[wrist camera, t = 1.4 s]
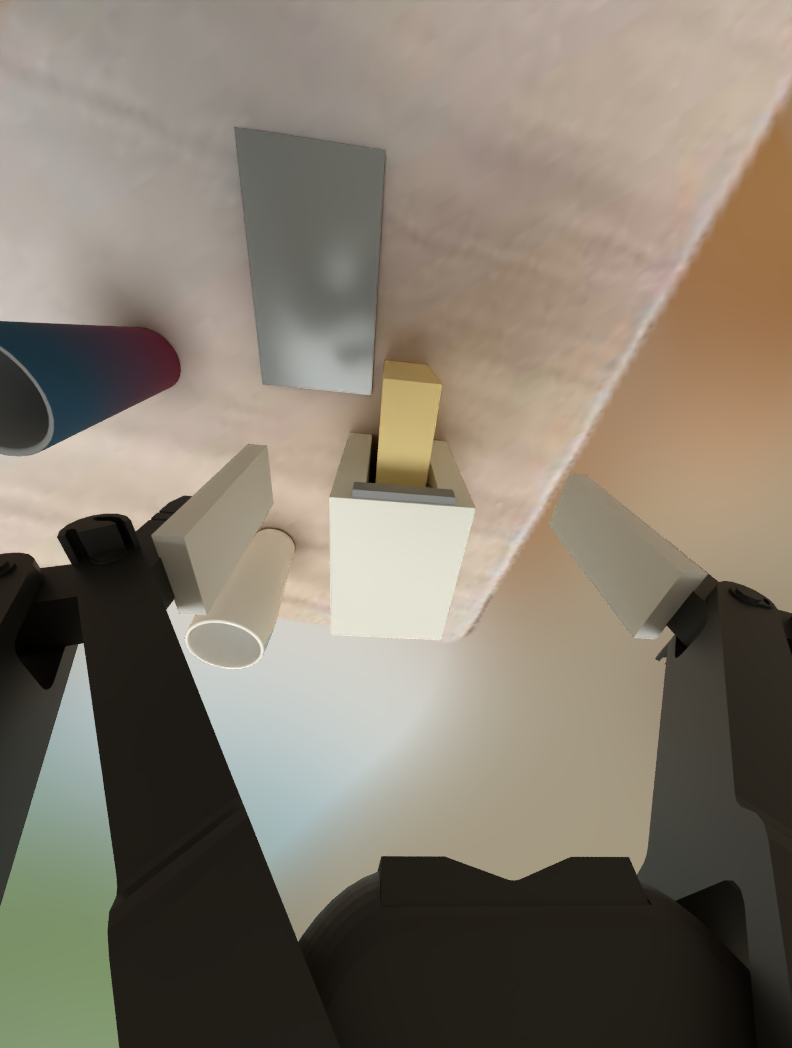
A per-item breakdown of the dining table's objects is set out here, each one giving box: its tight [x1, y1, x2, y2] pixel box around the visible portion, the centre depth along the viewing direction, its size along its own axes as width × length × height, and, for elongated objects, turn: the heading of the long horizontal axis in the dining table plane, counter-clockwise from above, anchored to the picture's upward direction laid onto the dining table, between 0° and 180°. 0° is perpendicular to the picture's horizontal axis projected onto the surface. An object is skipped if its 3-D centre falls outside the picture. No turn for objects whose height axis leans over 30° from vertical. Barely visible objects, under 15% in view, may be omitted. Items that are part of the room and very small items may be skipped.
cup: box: [0, 321, 180, 456], centre depth 24 cm, size 7×7×15 cm
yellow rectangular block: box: [376, 360, 442, 487], centre depth 30 cm, size 14×4×10 cm, turn 174°
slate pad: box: [234, 127, 385, 395], centre depth 27 cm, size 16×10×1 cm, turn 174°
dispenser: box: [329, 433, 476, 640], centre depth 32 cm, size 15×10×14 cm
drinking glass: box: [185, 529, 295, 669], centre depth 35 cm, size 7×7×15 cm
